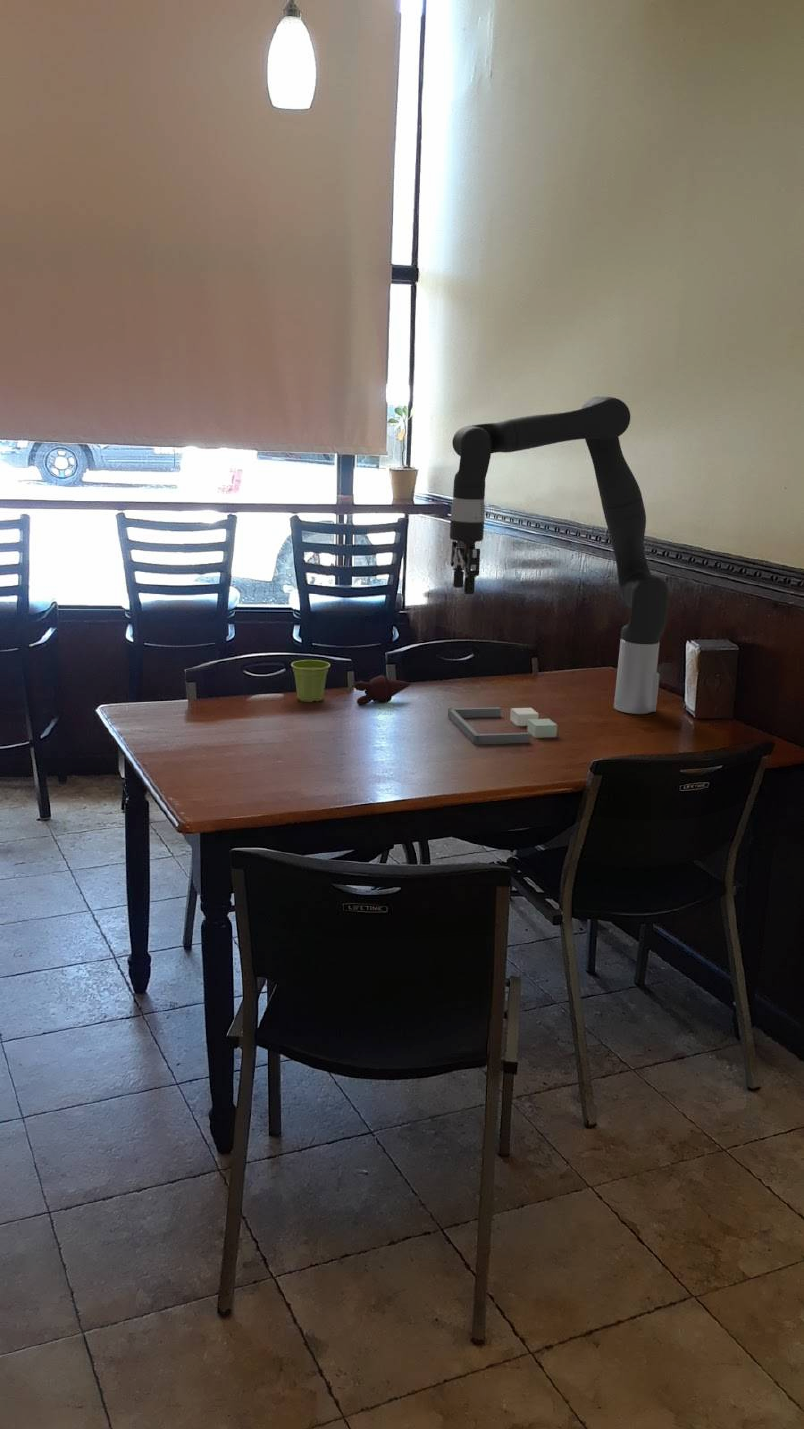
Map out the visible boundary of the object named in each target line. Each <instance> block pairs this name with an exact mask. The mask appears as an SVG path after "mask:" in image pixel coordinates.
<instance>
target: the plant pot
mask: <svg viewBox="0 0 804 1429" xmlns="http://www.w3.org/2000/svg"><path fill="white" fill-rule="evenodd" d="M290 666H291V668H292V671H293V672H292V673H294V674H293V675H294V680H295V687H296V696H297V699H298V700H299V701H301V702H306V703H312V702H314V701H316V702H320V701H322V700H324V695H325V689H326V688H325V686H326V681H327V674H328V672H329V668H330V667H331V663H330V662H327V661H325V660H324V661H323V660H317V659H303V660H301V659H300V660H297V661H293V662H292V663H291V664H290Z"/></svg>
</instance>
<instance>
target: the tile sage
mask: <svg viewBox="0 0 804 1429" xmlns="http://www.w3.org/2000/svg"><path fill="white" fill-rule="evenodd" d="M557 730H558V724H557V723H556V722H554V721H552V720H551V719H550V718H538V719H528V726H527V730H526V731H527V733H530V736H532V737H533V738H535V739H536V738H537V739H538V738H540V739H541V738H557V732H558V731H557Z"/></svg>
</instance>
